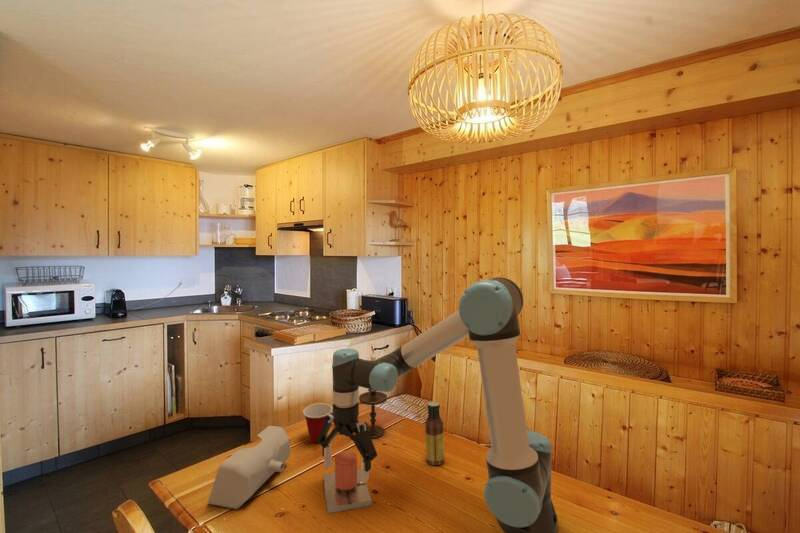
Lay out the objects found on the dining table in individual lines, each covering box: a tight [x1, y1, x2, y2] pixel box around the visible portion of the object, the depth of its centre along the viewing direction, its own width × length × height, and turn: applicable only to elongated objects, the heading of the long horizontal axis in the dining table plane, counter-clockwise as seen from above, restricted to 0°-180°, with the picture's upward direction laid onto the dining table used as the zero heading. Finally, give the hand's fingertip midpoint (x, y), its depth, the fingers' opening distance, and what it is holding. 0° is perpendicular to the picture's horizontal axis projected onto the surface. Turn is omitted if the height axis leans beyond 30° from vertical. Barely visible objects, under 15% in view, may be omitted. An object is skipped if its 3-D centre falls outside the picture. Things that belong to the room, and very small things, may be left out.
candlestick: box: [358, 343, 388, 440], centre depth 146 cm, size 11×11×35 cm
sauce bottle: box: [424, 400, 445, 466], centre depth 127 cm, size 6×6×20 cm
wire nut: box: [334, 450, 358, 490], centre depth 111 cm, size 6×6×8 cm
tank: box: [207, 425, 291, 510], centre depth 115 cm, size 25×16×12 cm, turn 167°
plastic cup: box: [302, 402, 333, 445], centre depth 141 cm, size 11×11×12 cm
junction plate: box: [322, 468, 372, 514], centre depth 111 cm, size 16×12×10 cm
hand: (346, 474), depth 111 cm, fingers open, 13 cm apart
